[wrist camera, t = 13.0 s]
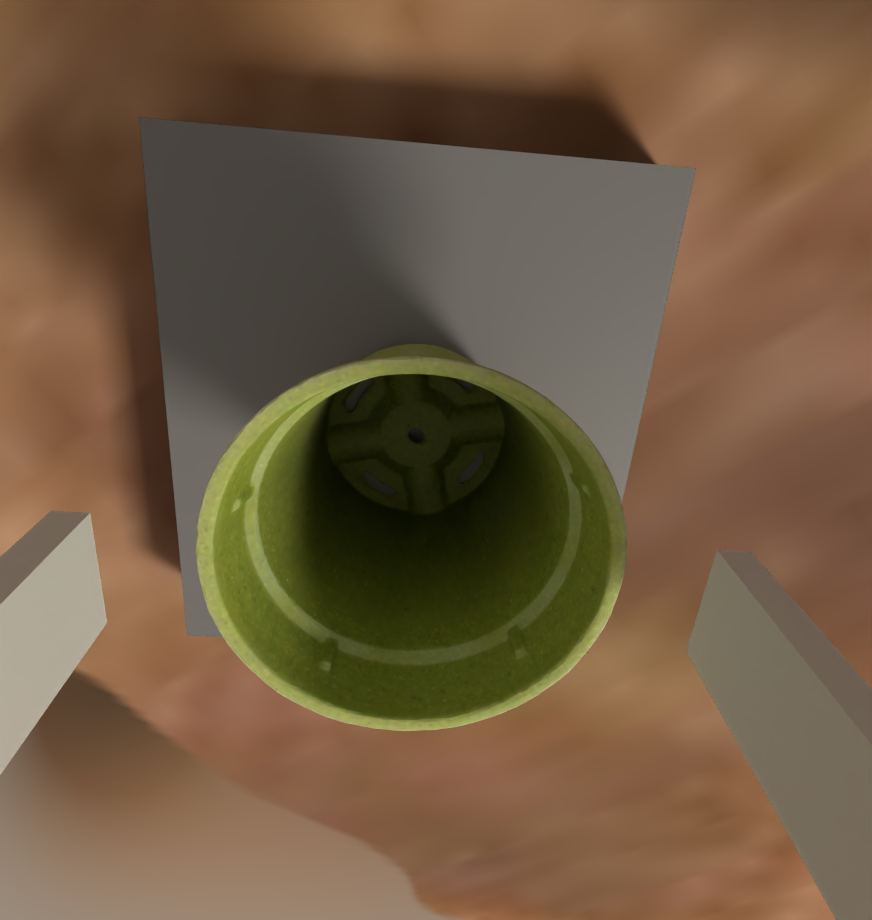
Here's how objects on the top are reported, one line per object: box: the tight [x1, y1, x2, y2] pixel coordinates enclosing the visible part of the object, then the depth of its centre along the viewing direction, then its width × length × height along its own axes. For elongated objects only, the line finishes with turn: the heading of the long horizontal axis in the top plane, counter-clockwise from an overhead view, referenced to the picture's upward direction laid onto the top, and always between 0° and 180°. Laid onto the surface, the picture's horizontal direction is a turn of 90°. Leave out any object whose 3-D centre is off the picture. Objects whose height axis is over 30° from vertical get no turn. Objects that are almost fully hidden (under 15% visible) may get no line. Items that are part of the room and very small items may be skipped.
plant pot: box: [196, 344, 627, 731], centre depth 18 cm, size 9×9×9 cm
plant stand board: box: [139, 117, 696, 653], centre depth 23 cm, size 18×16×3 cm
